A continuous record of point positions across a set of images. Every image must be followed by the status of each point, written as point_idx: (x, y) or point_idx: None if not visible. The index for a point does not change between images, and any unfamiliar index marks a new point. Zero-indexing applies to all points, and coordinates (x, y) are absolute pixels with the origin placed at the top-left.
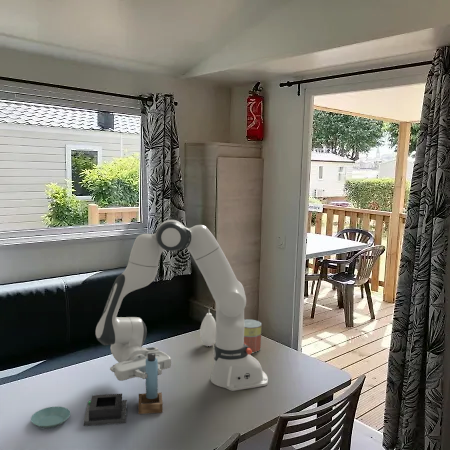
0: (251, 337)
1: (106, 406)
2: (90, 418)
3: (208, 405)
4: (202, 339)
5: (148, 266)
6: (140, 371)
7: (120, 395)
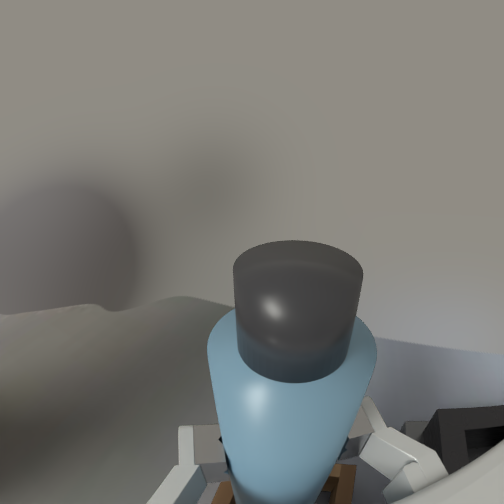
0: None
1: (492, 425)
2: None
3: (62, 420)
4: None
5: None
6: (395, 446)
7: None
